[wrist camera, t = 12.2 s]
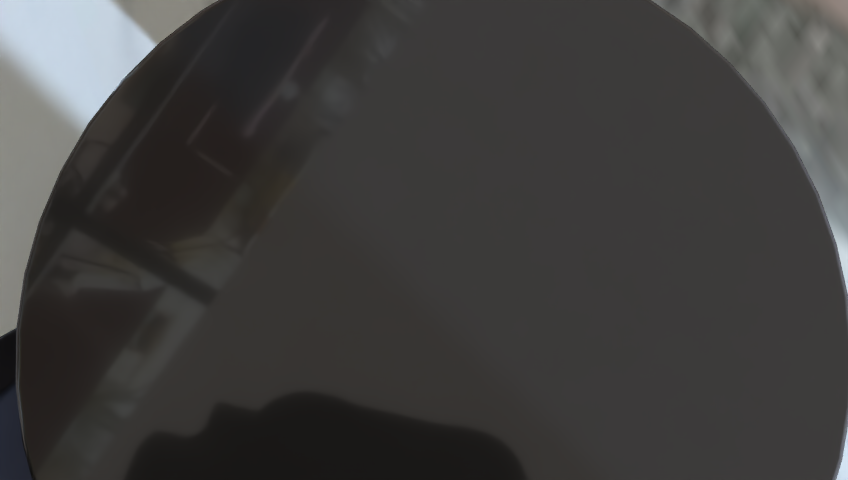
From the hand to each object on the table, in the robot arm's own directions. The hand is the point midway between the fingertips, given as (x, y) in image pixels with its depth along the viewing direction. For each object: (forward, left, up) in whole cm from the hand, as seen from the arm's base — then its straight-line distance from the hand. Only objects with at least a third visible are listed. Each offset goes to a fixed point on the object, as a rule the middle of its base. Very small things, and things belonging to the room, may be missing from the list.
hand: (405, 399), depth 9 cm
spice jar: (+1, 0, -8) cm, 8 cm away
